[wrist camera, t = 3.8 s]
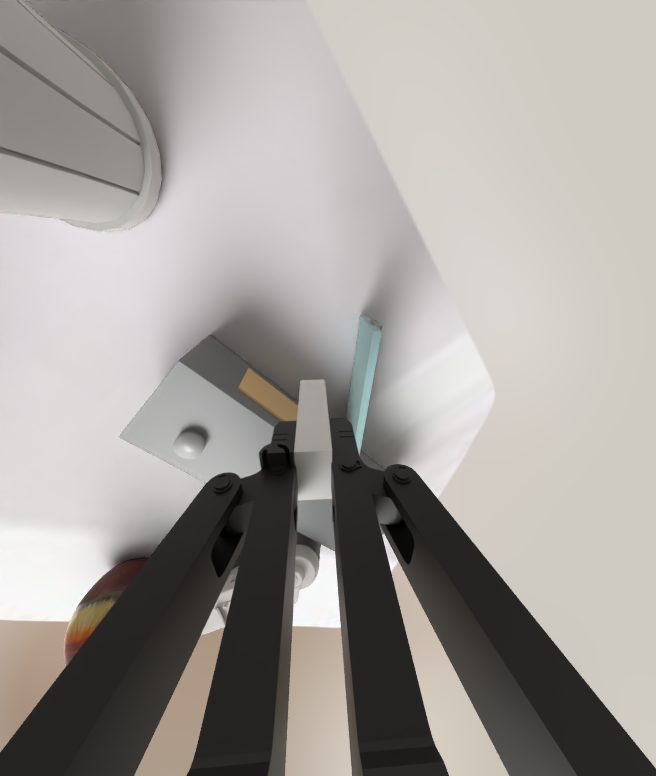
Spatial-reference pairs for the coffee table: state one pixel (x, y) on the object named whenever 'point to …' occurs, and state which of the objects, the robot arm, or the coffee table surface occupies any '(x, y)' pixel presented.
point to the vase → (98, 605)
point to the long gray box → (222, 424)
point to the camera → (303, 578)
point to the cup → (70, 131)
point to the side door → (363, 375)
